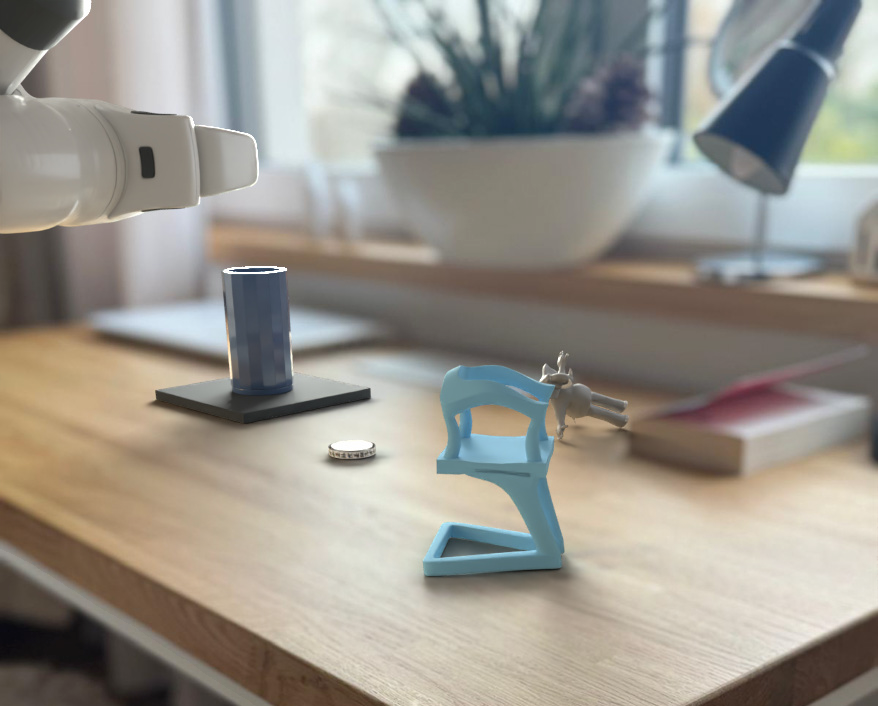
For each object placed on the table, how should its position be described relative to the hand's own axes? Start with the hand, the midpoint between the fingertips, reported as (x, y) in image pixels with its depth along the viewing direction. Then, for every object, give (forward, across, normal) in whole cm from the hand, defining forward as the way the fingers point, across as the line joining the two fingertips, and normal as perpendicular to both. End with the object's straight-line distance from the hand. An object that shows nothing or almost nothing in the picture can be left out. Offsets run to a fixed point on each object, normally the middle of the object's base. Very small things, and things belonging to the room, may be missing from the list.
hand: (181, 159), depth 94 cm
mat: (+12, 0, -24) cm, 26 cm away
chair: (-28, +36, -23) cm, 51 cm away
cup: (+12, 0, -22) cm, 25 cm away
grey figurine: (+7, +34, -24) cm, 42 cm away
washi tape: (-6, +18, -23) cm, 30 cm away
